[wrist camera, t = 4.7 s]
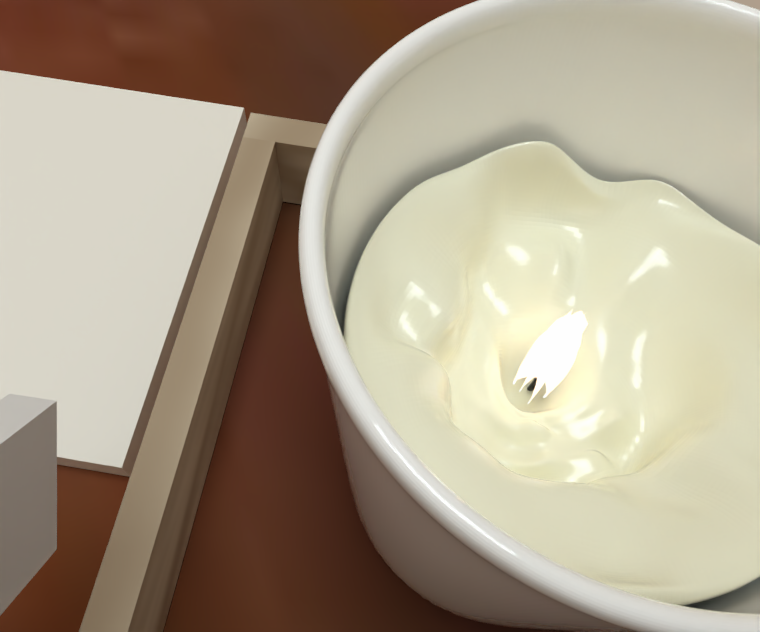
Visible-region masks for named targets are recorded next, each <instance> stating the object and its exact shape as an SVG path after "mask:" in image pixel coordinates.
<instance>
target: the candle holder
mask: <svg viewBox="0 0 760 632" xmlns="http://www.w3.org/2000/svg"><path fill="white" fill-rule="evenodd" d="M299 266H300V276H301V285H302V291H303V297H304V302H305V307H306V312H307V316H308V320H309V324H310V328H311V331H312V334H313V338H314V341H315V344H316V347H317V350H318V352H319V355H320V358H321V360H322V363H323V365H324V368H325V371H326V376H327V381H328V385H329V390H330V395H331V400H332V404H333V409H334V414H335V419H336V423H337V428H338V433H339V438H340V442H341V447H342V452H343V457H344V461H345V466H346V470H347V475H348V479H349V484H350V488H351V492H352V496H353V499H354V503H355V506H356V509H357V512H358V515H359V517H360V520H361V522H362V525H363V527H364V529H365V531H366V533H367V535H368V537H369V539H370V541H371V542H372V544H373V546H374V547H375V549H376V550H377V552H378V553H379V555H380V556H381V557H382V559H383V560H384V561H385V563H386V564H387V565H388V566H389V568H390V569H391V570H392V571H393V572H394V573H395V574H396V575H397V576H398V577H399V578H400V579H401V580H402V581H403V582H404V583H405V584H406V585H407V586H409V587H410V588H411V589H412V590H413V591H415V592H416V593H417V594H419V595H420V596H422V597H423V598H425V599H426V600H428V601H429V602H431V603H433V604H434V605H436V606H438V607H440V608H442V609H444V610H446V611H448V612H450V613H453V614H455V615H458V616H460V617H463V618H466V619H469V620H473V621H477V622H481V623H486V624H491V625H497V626H505V627H515V628H529V629H544V630H561V631H578V632H760V10H758V9H755V8H752V7H749V6H746V5H743V4H739V3H736V2H733V1H729V0H478V1H476V2H473V3H470V4H467V5H465V6H462V7H460V8H457V9H455V10H453V11H451V12H448V13H446V14H444V15H442V16H440V17H438V18H436V19H434V20H432V21H431V22H429V23H427V24H425V25H424V26H422V27H420V28H419V29H417V30H415V31H414V32H412V33H411V34H409V35H408V36H406V37H405V38H403V39H402V40H401V41H399V42H398V43H396V44H395V45H394V46H393V47H391V48H390V49H389V50H388V51H386V52H385V53H384V54H383V55H382V56H381V57H379V58H378V59H377V60H376V61H375V62H374V63H373V64H372V65H371V66H370V67H369V68H368V69H367V70H366V71H365V72H364V73H363V74H362V75H361V77H360V78H359V79H358V80H357V81H356V82H355V84H354V85H353V86H352V87H351V89H350V90H349V91H348V93H347V94H346V95H345V97H344V98H343V99H342V101H341V102H340V104H339V105H338V107H337V108H336V110H335V112H334V113H333V115H332V117H331V118H330V120H329V122H328V124H327V126H326V128H325V130H324V132H323V134H322V136H321V138H320V141H319V143H318V145H317V148H316V150H315V153H314V156H313V159H312V162H311V165H310V168H309V171H308V175H307V179H306V183H305V188H304V193H303V198H302V204H301V212H300V222H299Z"/></svg>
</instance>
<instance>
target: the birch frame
mask: <svg viewBox="0 0 760 632" xmlns="http://www.w3.org/2000/svg"><path fill="white" fill-rule="evenodd" d="M326 126H327V124H320V123H314V122H307V121H301V120H294V119H288V118H281V117H275V116H268V115H262V114H255V113H251V114H250V117H249V120H248V123H247V126H246V129H245V132H244V135H243V138H242V141H241V144H240V147H239V150H238V153H237V156H236V159H235V162H234V165H233V169H232V172H231V175H230V178H229V181H228V184H227V187H226V190H225V193H224V196H223V199H222V202H221V205H220V208H219V211H218V214H217V217H216V220H215V223H214V226H213V229H212V232H211V235H210V238H209V241H208V244H207V247H206V250H205V253H204V256H203V259H202V262H201V265H200V268H199V271H198V274H197V277H196V280H195V283H194V286H193V289H192V292H191V295H190V298H189V301H188V304H187V307H186V310H185V313H184V316H183V319H182V322H181V325H180V328H179V331H178V334H177V337H176V340H175V344H174V347H173V350H172V353H171V356H170V359H169V362H168V365H167V368H166V371H165V374H164V377H163V380H162V383H161V386H160V389H159V392H158V395H157V398H156V401H155V404H154V407H153V410H152V413H151V416H150V419H149V422H148V425H147V428H146V431H145V434H144V437H143V440H142V443H141V446H140V449H139V452H138V455H137V458H136V461H135V464H134V467H133V470H132V473H131V476H130V479H129V482H128V485H127V488H126V491H125V494H124V497H123V500H122V503H121V506H120V509H119V512H118V515H117V518H116V522H115V525H114V528H113V531H112V534H111V537H110V540H109V543H108V546H107V549H106V552H105V555H104V558H103V561H102V564H101V567H100V570H99V573H98V576H97V579H96V582H95V585H94V588H93V591H92V594H91V597H90V600H89V603H88V606H87V609H86V612H85V615H84V618H83V621H82V624H81V627H80V630H79V632H163V630H164V627H165V623H166V619H167V616H168V612H169V609H170V605H171V601H172V598H173V594H174V591H175V587H176V583H177V580H178V576H179V573H180V569H181V566H182V562H183V558H184V555H185V551H186V548H187V544H188V540H189V537H190V533H191V530H192V526H193V523H194V519H195V515H196V512H197V508H198V505H199V501H200V497H201V494H202V490H203V487H204V483H205V479H206V476H207V472H208V469H209V465H210V462H211V458H212V454H213V451H214V447H215V444H216V440H217V436H218V433H219V429H220V426H221V422H222V419H223V415H224V411H225V408H226V404H227V401H228V397H229V393H230V390H231V386H232V383H233V379H234V375H235V372H236V368H237V365H238V361H239V358H240V354H241V350H242V347H243V343H244V340H245V336H246V332H247V329H248V325H249V322H250V318H251V315H252V311H253V307H254V304H255V300H256V297H257V293H258V289H259V286H260V282H261V279H262V275H263V271H264V268H265V264H266V261H267V257H268V254H269V250H270V246H271V243H272V239H273V236H274V232H275V228H276V225H277V221H278V218H279V214H280V211H281V207H282V203H283V202H289V203H295V204H302V198H303V193H304V188H305V183H306V179H307V175H308V171H309V168H310V165H311V162H312V159H313V156H314V153H315V150H316V148H317V145H318V143H319V141H320V138H321V136H322V134H323V132H324V130H325V128H326Z"/></svg>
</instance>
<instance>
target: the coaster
mask: <svg viewBox="0 0 760 632" xmlns="http://www.w3.org/2000/svg"><path fill="white" fill-rule="evenodd" d="M246 126H247V122H246V117H245V111H244V108H241V107H235V106H228V105H222V104H215V103H209V102H202V101H196V100H189V99H183V98H176V97H170V96H163V95H157V94H150V93H144V92H137V91H131V90H124V89H118V88H111V87H104V86H98V85H91V84H85V83H78V82H72V81H65V80H59V79H52V78H46V77H39V76H33V75H26V74H20V73H13V72H7V71H0V400H1V399H2V398H4V397H5V396H7V395H8V394H15V395H21V396H28V397H35V398H41V399H48V400H54V401H57V464H58V465H64V466H70V467H76V468H82V469H87V470H93V471H99V472H105V473H111V474H116V475H122V476H128V477H130V476H131V473H132V470H133V467H134V464H135V461H136V458H137V455H138V452H139V449H140V446H141V443H142V440H143V437H144V434H145V431H146V428H147V425H148V422H149V419H150V416H151V413H152V410H153V407H154V404H155V401H156V398H157V395H158V392H159V389H160V386H161V383H162V380H163V377H164V374H165V371H166V368H167V365H168V362H169V359H170V356H171V353H172V350H173V347H174V344H175V340H176V337H177V334H178V331H179V328H180V325H181V322H182V319H183V316H184V313H185V310H186V307H187V304H188V301H189V298H190V295H191V292H192V289H193V286H194V283H195V280H196V277H197V274H198V271H199V268H200V265H201V262H202V259H203V256H204V253H205V250H206V247H207V244H208V241H209V238H210V235H211V232H212V229H213V226H214V223H215V220H216V217H217V214H218V211H219V208H220V205H221V202H222V199H223V196H224V193H225V190H226V187H227V184H228V181H229V178H230V175H231V172H232V169H233V165H234V162H235V159H236V156H237V153H238V150H239V147H240V144H241V141H242V138H243V135H244V132H245V129H246Z"/></svg>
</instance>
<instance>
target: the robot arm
mask: <svg viewBox="0 0 760 632" xmlns="http://www.w3.org/2000/svg"><path fill="white" fill-rule="evenodd" d="M56 550H57V401H54V400H48V399H41V398H35V397H28V396H21V395H15V394H8V395H7V396H5V397H4V398H2V399H1V400H0V615H1V614H2V613H3V612H4V611H5V609H6V608H7V607H8V606H9V605H10V604H11V602H12V601H13V600H14V599H15V598H16V596H17V595H18V594H19V593H20V592H21V591H22V589H23V588H24V587H25V586H26V585H27V584H28V582H29V581H30V580H31V579H32V578H33V577H34V575H35V574H36V573H37V572H38V571H39V570H40V568H41V567H42V566H43V565H44V564H45V562H46V561H47V560H48V559H49V558H50V557H51V555H52V554H53V553H54V552H55V551H56Z"/></svg>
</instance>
